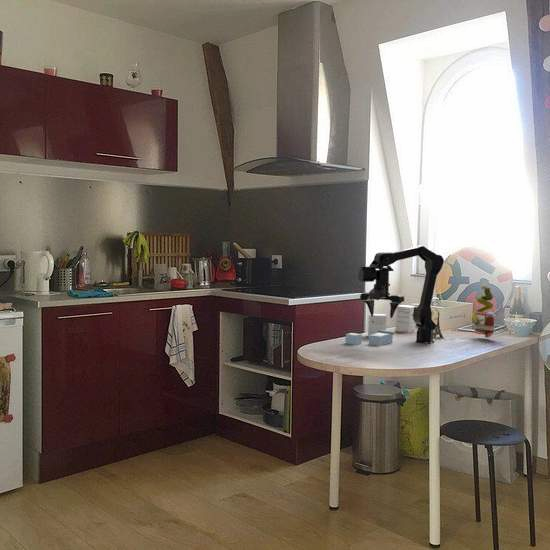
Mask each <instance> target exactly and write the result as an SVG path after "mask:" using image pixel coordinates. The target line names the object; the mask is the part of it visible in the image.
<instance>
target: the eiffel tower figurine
mask: <svg viewBox="0 0 550 550" xmlns="http://www.w3.org/2000/svg"><path fill="white" fill-rule="evenodd" d="M436 325H437V326H436V328H435V330H434V332H433V340H434V341H435V340H436V341H444V342H445V341H452V340H454V338H449V339H448V338H445V337H444V336H443V334H442V332H441V327H440V313H439V312H437V321H436ZM438 335H439V336H438Z"/></svg>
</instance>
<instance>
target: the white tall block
mask: <svg viewBox="0 0 550 550" xmlns="http://www.w3.org/2000/svg"><path fill="white" fill-rule="evenodd" d="M414 307H416V306H415V305H405V304H401V305H400V304H399V305H398V307H397V308H396V310H395V312H396V313H395V332H399V333H409V334H410V333H413V332H415V331H416V327H415V326H416V323H415V322H414V320H413V316H412V315H413V312H414ZM416 308H417V307H416Z"/></svg>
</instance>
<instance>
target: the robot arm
mask: <svg viewBox="0 0 550 550" xmlns="http://www.w3.org/2000/svg"><path fill="white" fill-rule="evenodd" d="M414 257H419V258H420V260H422V261H423V262H424V270H425V278H424V282H423V285H422V291H421V296H420V301H419V304H418V306H417V307H414V312H413V315H412V316H413V320H414V322H415V326H416V327H417V331H416V334H415V335H416V340H415V342H416V343H423V344H432V343H435V340H434V339H433V337H434V336H433V333H434V331H435V329H436V326H437V323H435V322H434V321H433V312H432V308H431V305H432V302H433V301H432V300H433V296H434V292H435V287H436V282H437V277H438V275H439V273H440V272H441V270H442V269H443V266H444V263H445V260H444V258H443V256H442V255H441V254H437V253H435V252H433V251H432V250H430V249H428V248H426V247H425V246H424V245H416V246H414V247H409V248H406V249H405V248H404V249H401V250H396V251H393V252H392V251H389V252H387V251H386V252H385V251H383V252H382V251H381V252H376V253H375V255H374V258H373V260H372V262H371V263H370V264H369V266H364V265H361V266H360V267H359V270H358V273H357V278H358V281H359V282H360V283H369V282H370V283H371V282H374V281H375V283H374V284H373V288H372V289H370V290H369V292H363V293H360V295H359V297H360V298H359V300H360V301H361V300H362V302H363V303H365V304H366V306H367V309H368V311H369V314H371V316H373V314H375V312H374V311H375V300H376V301H380V300H385V301H390V302H389V305H390V310H389V311H390V312H389V314H390V315H389V316H390V319H392V318H393V317H394V314H396V313H395V312H396V309H397V307H398V306H400V304H402V303H403V302H405V296H404V295H403V294H392V295H391V293H390V292H389V288H390V286H391V283H390V281H389V280H390V272H394V268H393V267H392V264H395V263H396V262H397V261H402V260H405V259H410V258H414Z"/></svg>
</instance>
